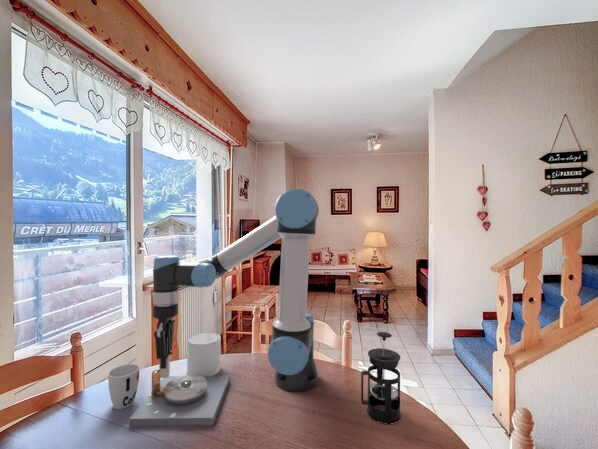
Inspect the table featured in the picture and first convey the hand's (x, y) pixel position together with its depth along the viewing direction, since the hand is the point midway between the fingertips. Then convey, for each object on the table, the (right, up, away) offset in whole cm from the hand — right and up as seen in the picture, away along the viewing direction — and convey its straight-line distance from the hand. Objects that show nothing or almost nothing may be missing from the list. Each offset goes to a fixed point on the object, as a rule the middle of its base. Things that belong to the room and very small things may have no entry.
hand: (164, 376), depth 94 cm
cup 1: (-9, -5, -7) cm, 12 cm away
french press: (+67, -5, -11) cm, 68 cm away
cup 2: (+8, -5, +13) cm, 17 cm away
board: (+9, -5, -6) cm, 12 cm away
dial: (+7, -2, -6) cm, 9 cm away
